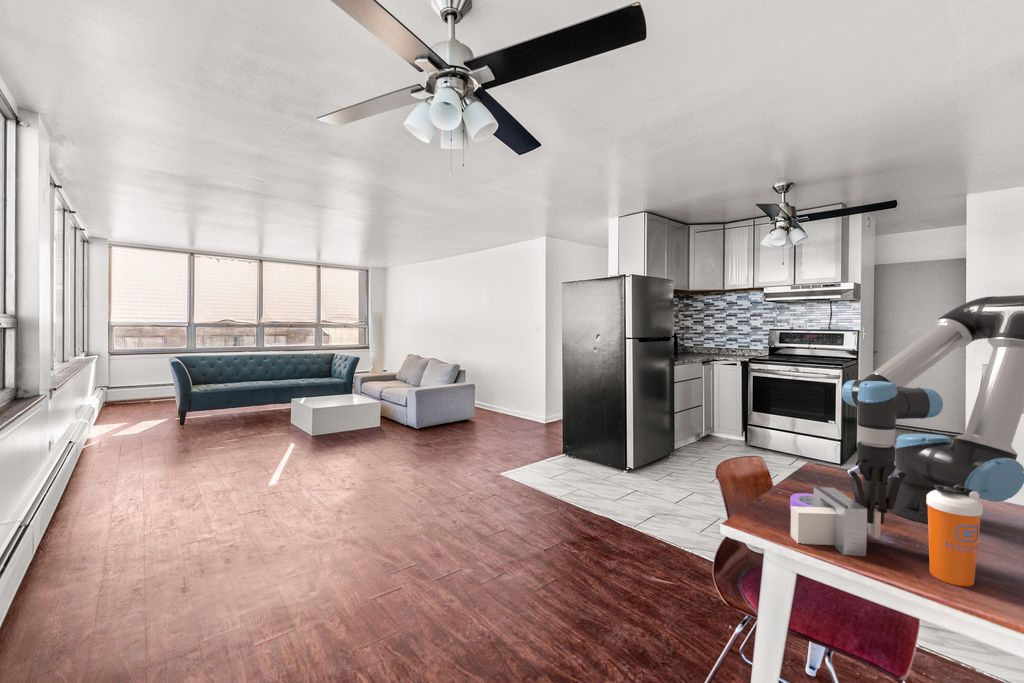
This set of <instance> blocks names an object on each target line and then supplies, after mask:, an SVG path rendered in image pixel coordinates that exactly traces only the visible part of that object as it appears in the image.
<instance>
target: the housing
mask: <svg viewBox="0 0 1024 683" xmlns="http://www.w3.org/2000/svg"><path fill="white" fill-rule="evenodd" d="M812 487H813V494H814V503H813V507H825V508H836V536H835V545H834V546H835V547H834V548H835V549H836V550H837V551H838V552H839V553H841V554H842V555H843V556H854V557H855V556H856V557H857V556H860V557H866V556H867V547H866V539H868V522H867V509H866V508H865V507H863V506H862V505H860V504H859V503H857V502H856V500H854V499H853V498H851V497H849V496H847V495H846V494H844V493H843V492H841V491H840V490H838V489H836V488H835V487H825V486H824V487H821V486H818V485H817V484H813V486H812Z"/></svg>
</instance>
